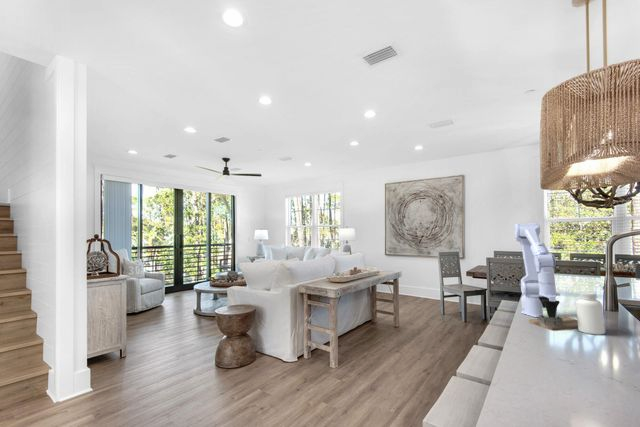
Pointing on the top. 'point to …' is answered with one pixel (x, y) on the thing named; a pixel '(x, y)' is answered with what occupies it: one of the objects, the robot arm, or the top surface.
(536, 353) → the top surface
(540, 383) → the top surface
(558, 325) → the stud board
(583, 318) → the pill bottle
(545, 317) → the cap
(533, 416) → the top surface
